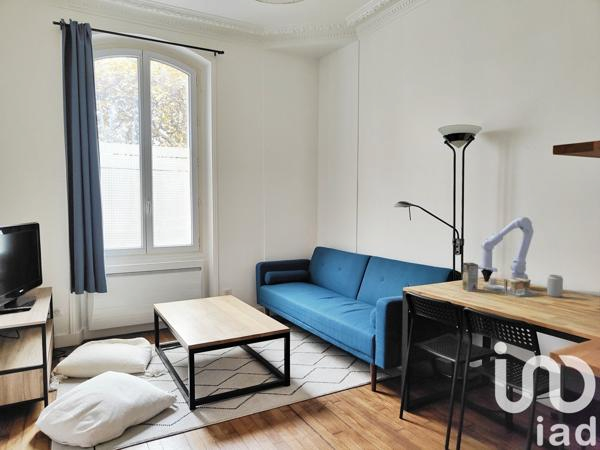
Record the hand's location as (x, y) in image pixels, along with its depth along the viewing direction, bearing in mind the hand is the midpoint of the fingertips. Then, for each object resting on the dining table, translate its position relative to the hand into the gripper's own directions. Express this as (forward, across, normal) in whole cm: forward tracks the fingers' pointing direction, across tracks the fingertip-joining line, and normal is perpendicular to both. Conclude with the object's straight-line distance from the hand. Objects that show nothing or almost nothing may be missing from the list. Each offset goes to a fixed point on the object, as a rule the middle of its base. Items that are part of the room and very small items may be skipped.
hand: (486, 281), depth 269 cm
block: (+1, +23, 0) cm, 23 cm away
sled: (+2, +15, 0) cm, 15 cm away
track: (+3, +18, 0) cm, 18 cm away
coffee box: (+3, +5, -18) cm, 19 cm away
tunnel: (+2, +23, 0) cm, 23 cm away
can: (+3, +36, +14) cm, 39 cm away
